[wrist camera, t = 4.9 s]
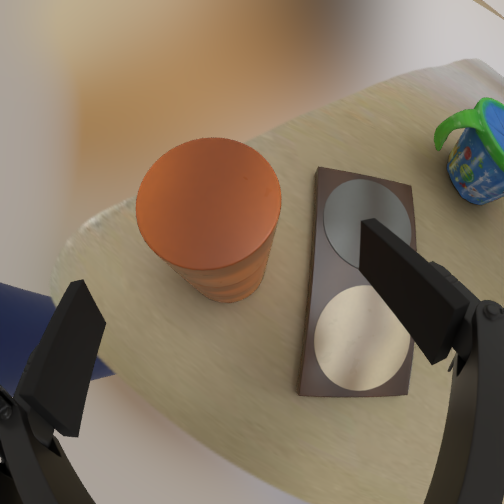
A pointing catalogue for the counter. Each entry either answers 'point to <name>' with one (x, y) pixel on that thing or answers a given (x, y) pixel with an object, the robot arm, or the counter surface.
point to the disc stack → (211, 215)
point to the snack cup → (476, 151)
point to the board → (353, 292)
